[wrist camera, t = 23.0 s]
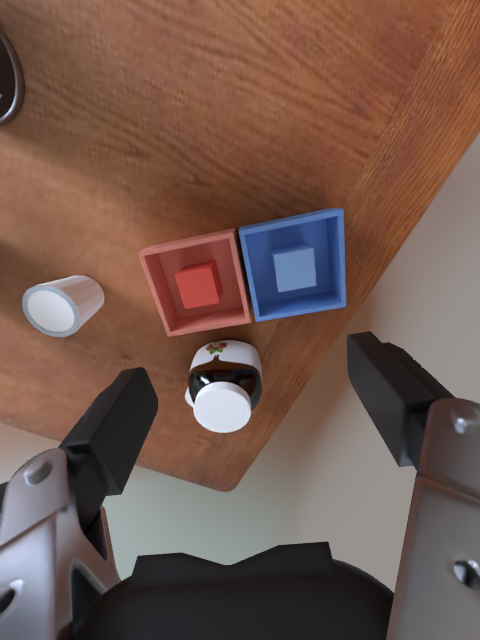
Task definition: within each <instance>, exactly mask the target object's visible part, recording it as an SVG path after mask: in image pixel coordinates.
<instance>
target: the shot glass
mask: <svg viewBox="0 0 480 640" xmlns="http://www.w3.org/2000/svg"><path fill="white" fill-rule="evenodd" d="M104 298H105V297H104V293H103V290H102V288H101V287H100V285H99V284H98V283H97V282H96V281H95V280H93V279H92V278H90V277H87V276H84V275H75V276H71V277H67V278H63V279H59V280H55V281H51V282H47V283H43V284H39V285H35V286H33V287H31V288H29V289H27V291H26V292H25V294H24V296H23V297H22V308H23V311H24V313H25V316H26V318H27V319H28V320H29V321H30V323H31V324H32V325H33V326H34V327H35V328H37V329H38V330H40V331H41V332H43V333H44V334H47V335H50V336H53V337H67V336H69V335H71V334H74V333H75V332H76V331H77V330H78V329H79V328H80V327H81V326H82V325H83V324H84V323H85V322H86V321H87V320H88V319H89V318H91V317H92V316H93V315H94V314H95V313H96V312H97V311H98V310H99V309H100V308H101V306H102V305H103V304H104Z"/></svg>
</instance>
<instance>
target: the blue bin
mask: <svg viewBox="0 0 480 640" xmlns="http://www.w3.org/2000/svg"><path fill="white" fill-rule="evenodd" d="M239 236H240V241H241V246H242V251H243V256H244V262H245V267H246V272H247V277H248V283H249V288H250V293H251V298H252V304H253V309H254V314H255V319H256V322H259V321H265V320H271V319H277V318H283V317H288V316H294V315H300V314H306V313H312V312H318V311H324V310H330V309H336V308H342V307H346V277H345V243H344V209H337V208H328V209H323V210H318V211H314V212H309V213H304V214H299V215H295V216H290V217H285V218H280V219H275V220H271V221H266V222H261V223H256V224H252V225H247V226H242V227H240V228H239ZM304 242H305V243H307V244H309V245H310V246H312V247H313V248H314V260H315V272H316V286H312V287H306V288H300V289H295V290H289V291H284V292H279V291H278V288H277V286H276V283H275V278H274V271H273V264H272V257H271V251H270V249H273V248H279V247H284V246H289V245H294V244H299V243H304Z"/></svg>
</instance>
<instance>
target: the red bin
mask: <svg viewBox="0 0 480 640" xmlns="http://www.w3.org/2000/svg"><path fill="white" fill-rule="evenodd" d="M138 255H139V258H140V260H141V263H142V266H143V269H144V272H145V274H146V277H147V280H148V283H149V286H150V288H151V291H152V294H153V297H154V300H155V302H156V305H157V308H158V311H159V314H160V316H161V319H162V322H163V325H164V328H165V330H166V333H167V336H168V337H170V336H176V335H182V334H187V333H193V332H199V331H205V330H211V329H217V328H223V327H229V326H235V325H241V324H247V323H251V306H250V301H249V296H248V291H247V285H246V280H245V275H244V270H243V265H242V260H241V255H240V250H239V245H238V239H237V234H236V229H235V228H233V229H228V230H223V231H218V232H214V233H209V234H204V235H199V236H195V237H190V238H185V239H180V240H176V241H171V242H166V243H161V244H157V245H152V246H150V247H148V248H145V249H143V250H140V251H138ZM213 260H215V261H216V265H217V269H218V273H219V277H220V281H221V285H222V289H223V293H222V297H221V300H220V303H217V304H212V305H206V306H201V307H195V308H190V309H185V307H184V304H183V301H182V298H181V294H180V291H179V288H178V285H177V282H176V278H175V274H176V273H177V272H178V271H179V270H180V269H181V268H182V267H184V266H189V265H194V264H199V263H203V262H208V261H213Z"/></svg>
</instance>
